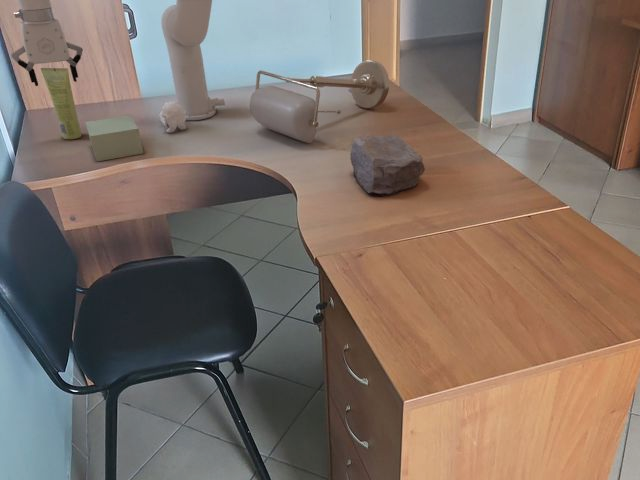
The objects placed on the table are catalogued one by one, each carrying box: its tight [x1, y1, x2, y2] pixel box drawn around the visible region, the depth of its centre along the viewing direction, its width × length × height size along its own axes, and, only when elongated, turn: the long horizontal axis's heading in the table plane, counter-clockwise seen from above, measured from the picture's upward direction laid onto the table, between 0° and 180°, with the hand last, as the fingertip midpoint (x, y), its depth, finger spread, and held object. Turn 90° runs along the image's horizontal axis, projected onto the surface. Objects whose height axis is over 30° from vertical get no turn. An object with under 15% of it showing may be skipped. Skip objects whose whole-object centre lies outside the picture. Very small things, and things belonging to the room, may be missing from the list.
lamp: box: [249, 59, 390, 144], centre depth 174 cm, size 27×23×40 cm
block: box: [85, 114, 145, 162], centre depth 160 cm, size 12×12×7 cm
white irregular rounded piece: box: [159, 100, 187, 134], centre depth 173 cm, size 6×8×12 cm
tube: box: [40, 67, 82, 140], centre depth 165 cm, size 6×5×20 cm
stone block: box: [349, 134, 426, 197], centre depth 141 cm, size 17×12×15 cm
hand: (56, 82), depth 161 cm, fingers open, 9 cm apart
